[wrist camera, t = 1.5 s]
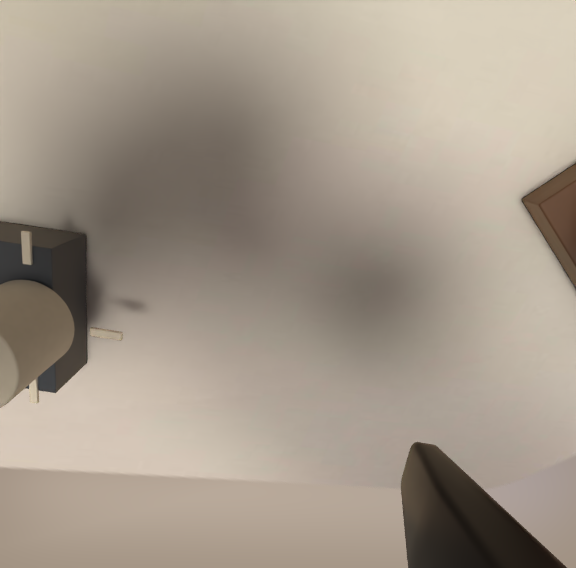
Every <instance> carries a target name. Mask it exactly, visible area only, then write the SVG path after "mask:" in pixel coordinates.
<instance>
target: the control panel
mask: <svg viewBox="0 0 576 568" xmlns="http://www.w3.org/2000/svg"><path fill="white" fill-rule="evenodd" d="M12 280H30V281H35V282H38V283H40V284H43V285H45V286H47V287H48V288H50V289H52V290H53V291H54V292H55V293H57V294H58V295H59V296H60V297H61V298H62V300H63V301H64V302H65V303H66V305H67V306H68V308H69V310H70V312H71V315H72V317H73V321H74V338H73V341H72V344H71V346H70V348H69V350H68V351H67V352H66V353H65V354H64V355H63V356H62V357H61V358H60V359H58V360H57V361H56V362H55V363H54V364H53V365H51V366H50V367H49V368H48V369H47V370H46V371H44V372H43V373H42V374H41V375H40V376H39V377H37V378H36V379H35V380H34V381H33V382H31V383H30V384H29V385H28V386H27V387H26V388H28V389H29V394H30V402H31V403H38V402H39V390H40V391H47V392H53V393H56V392H57V391H58V390H59V389H60V388H61V387H62V386H63V385H64V384H65V383H67V382H68V381H69V380H70V379H71V378H72V377H73V376H74V375H75V374H76V373H77V372H78V371H79V370H80V369H81V368H82V367H83V366H84V365H85V364H86V363H87V317H86V234H81V233H74V232H67V231H61V230H54V229H47V228H41V227H34V226H27V225H20V224H14V223H7V222H0V285H1V284H3V283H5V282H8V281H12ZM90 336H94V337H101V338H107V339H114V340H120V341H121V340H122V336H123V332H119V331H112V330H106V329H99V328H93V327H91V328H90Z"/></svg>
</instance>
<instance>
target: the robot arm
mask: <svg viewBox="0 0 576 568" xmlns="http://www.w3.org/2000/svg"><path fill="white" fill-rule="evenodd" d="M401 494H402V504H403V516H404V526H405V538H406V548H407V560H408V568H566V566H565V565H563V564H562V563H561V562H560V561H559V560H558V559H557V558H556V557H555V556H554V555H553V554H552V553H551V552H549V551H548V550H547V549H546V548H545V547H544V546H543V545H542V544H541V543H540V542H539V541H538V540H537V539H536V538H534V537H533V536H532V535H531V534H530V533H529V532H528V531H527V530H526V529H525V528H524V527H523V526H522V525H521V524H519V523H518V522H517V521H516V520H515V519H514V518H513V517H512V516H511V515H510V514H509V513H508V512H507V511H506V510H504V509H503V508H502V507H501V506H500V505H499V504H498V503H497V502H496V501H495V500H494V499H493V498H491V496H490V495H488V494H487V493H486V492H485V491H484V490H483V489H482V488H481V487H480V486H479V485H478V484H477V483H476V482H475V481H473V480H472V479H471V478H470V477H469V476H468V475H467V474H466V473H465V472H464V471H463V470H462V469H461V468H460V467H458V466H457V465H456V464H455V463H454V462H453V461H452V460H451V459H450V458H449V457H448V456H447V455H446V454H445V453H443V452H442V451H441V450H440V449H439V448H438V447H437V446H435V445H432V444H426V443H420V442H415V443H413V445H412V446H411V448H410V451H409V455H408V458H407V462H406V465H405V468H404V472H403V475H402V480H401Z"/></svg>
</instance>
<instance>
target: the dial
mask: <svg viewBox="0 0 576 568" xmlns="http://www.w3.org/2000/svg"><path fill="white" fill-rule="evenodd" d="M73 338H74V321H73V317H72V315H71V312H70V310H69V308H68V306H67V305H66V303H65V302H64V301H63V300H62V298H61V297H60V296H59V295H58V294H57V293H55V292H54V291H53V290H52V289H50V288H48V287H47V286H45V285H43V284H40V283H38V282H35V281H30V280H12V281H8V282H5V283H3V284H1V285H0V408H1V407H3V406H4V405H6V404H7V403H8V402H9V401H10V400H12V399H13V398H14V397H15V396H16V395H17V394H19V393H20V392H21V391H22V390H23V389H24V388H26V387H27V386H28V385H29V384H30V383H31V382H33V381H34V380H35V379H36V378H37V377H39V376H40V375H41V374H42V373H43V372H44V371H46V370H47V369H48V368H49V367H50V366H51V365H53V364H54V363H55V362H56V361H57V360H58V359H60V358H61V357H62V356H63V355H64V354H65V353H66V352H67V351H68V350H69V348H70V346H71V344H72V341H73Z"/></svg>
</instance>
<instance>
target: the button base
mask: <svg viewBox="0 0 576 568" xmlns="http://www.w3.org/2000/svg"><path fill="white" fill-rule="evenodd" d="M522 201H523V203H524V204H525V206H526V208H527V209H528V211H529V213H530V214H531V216H532V217H533V219H534V221H535V222H536V224H537V226H538V227H539V229H540V230H541V232H542V234H543V235H544V237H545V239H546V240H547V242H548V243H549V245H550V247H551V248H552V250H553V252H554V253H555V255H556V256H557V258H558V260H559V261H560V263H561V265H562V266H563V268H564V270H565V271H566V273H567V274H568V276H569V278H570V279H571V281H572V283H573V284H574V286H575V287H576V164H575V165H573V166H572V167H570V168H568V169H567V170H565V171H564V172H562V173H561V174H559V175H558V176H556V177H555V178H553V179H552V180H550V181H549V182H547V183H546V184H544V185H543V186H541V187H540V188H538V189H537V190H535V191H534V192H532V193H531V194H529V195H528V196H526V197H524V198H523V199H522Z"/></svg>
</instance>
